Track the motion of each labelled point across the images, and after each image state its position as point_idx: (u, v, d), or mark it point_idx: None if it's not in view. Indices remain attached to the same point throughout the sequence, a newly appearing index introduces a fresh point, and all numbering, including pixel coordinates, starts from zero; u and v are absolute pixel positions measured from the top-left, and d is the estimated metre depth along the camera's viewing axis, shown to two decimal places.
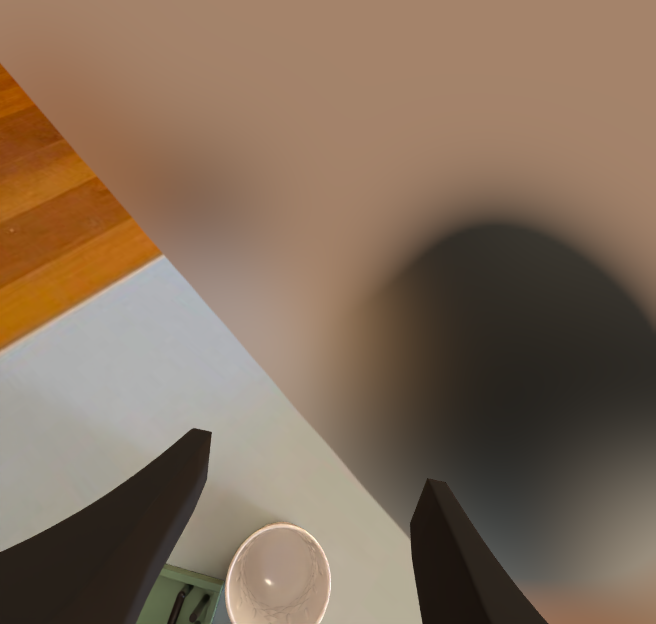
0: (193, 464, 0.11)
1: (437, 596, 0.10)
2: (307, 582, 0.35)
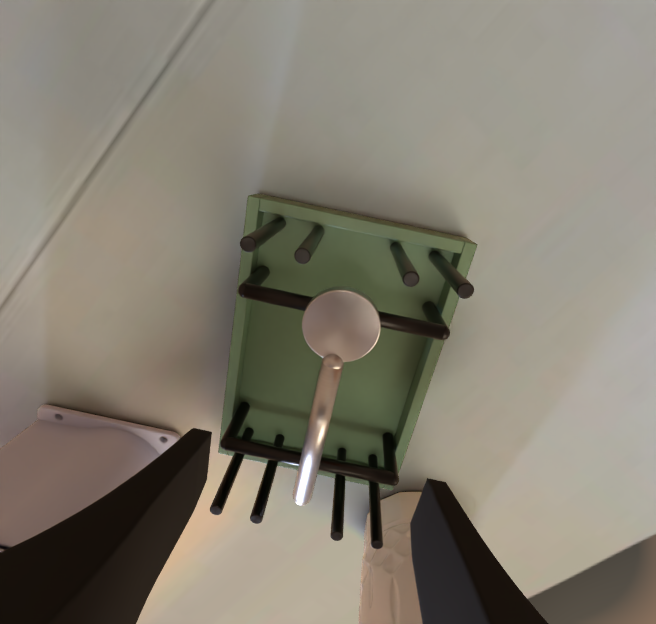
0: (193, 464, 0.11)
1: (437, 596, 0.10)
2: None
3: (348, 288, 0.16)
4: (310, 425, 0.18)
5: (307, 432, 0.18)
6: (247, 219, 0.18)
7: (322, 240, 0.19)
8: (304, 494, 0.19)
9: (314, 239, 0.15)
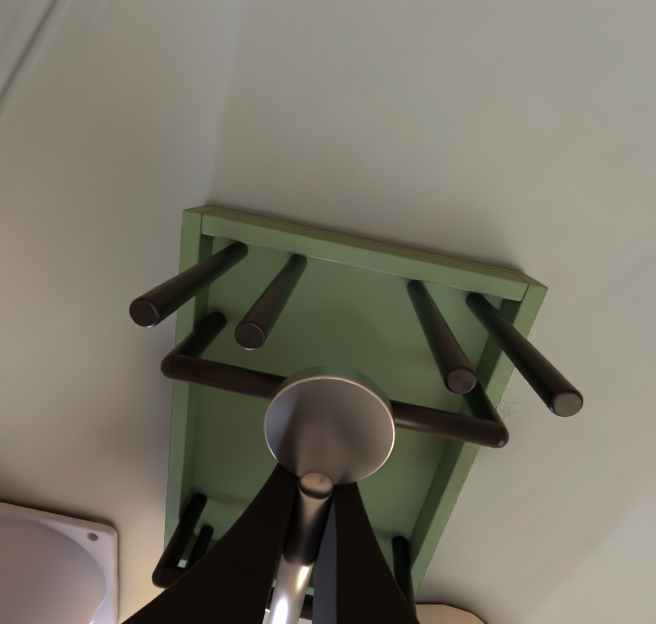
0: None
1: (322, 571, 0.10)
2: None
3: (341, 371, 0.09)
4: (282, 573, 0.11)
5: (278, 581, 0.11)
6: (183, 246, 0.11)
7: (304, 276, 0.13)
8: None
9: (282, 289, 0.09)
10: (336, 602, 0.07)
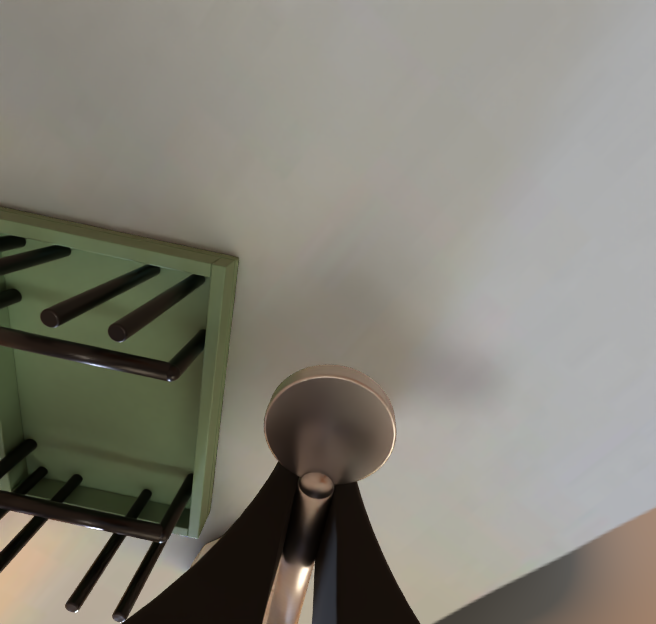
0: None
1: (322, 571, 0.10)
2: None
3: (341, 370, 0.09)
4: (281, 574, 0.11)
5: (278, 581, 0.11)
6: None
7: (71, 260, 0.17)
8: None
9: None
10: (336, 602, 0.07)
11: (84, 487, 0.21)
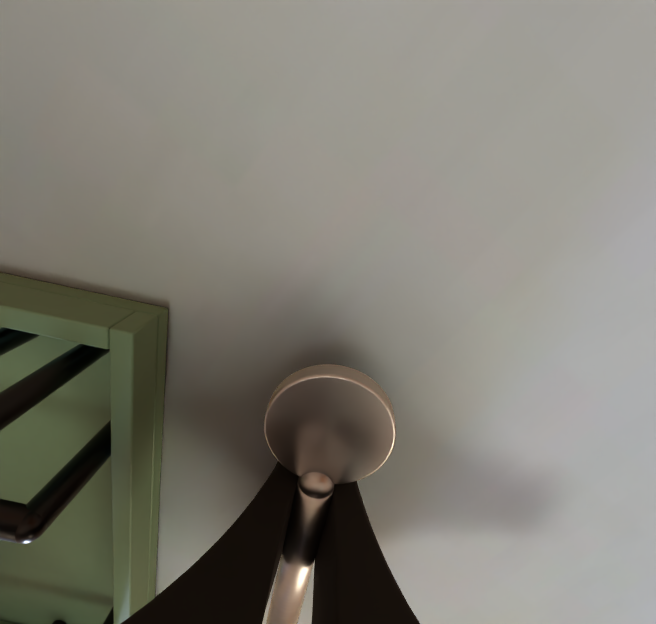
0: None
1: (321, 571, 0.10)
2: None
3: (341, 370, 0.09)
4: (281, 573, 0.11)
5: (277, 581, 0.11)
6: None
7: None
8: None
9: None
10: (336, 602, 0.07)
11: None
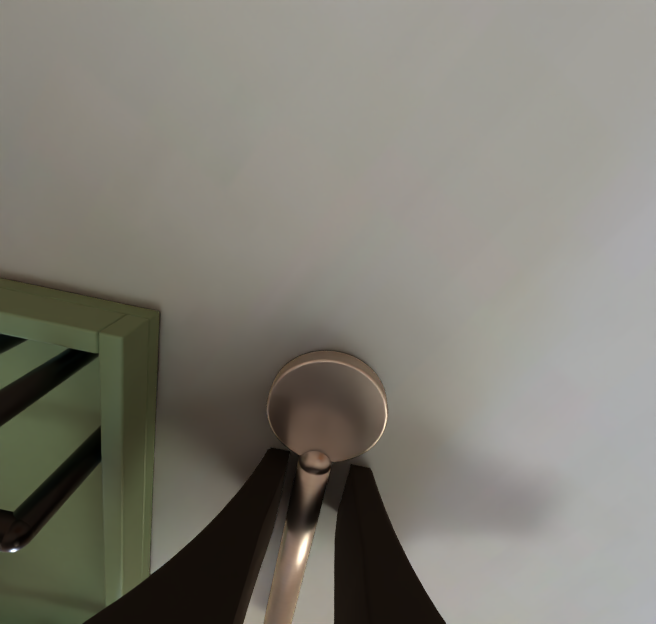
0: (281, 483, 0.11)
1: (344, 576, 0.10)
2: None
3: (337, 355, 0.10)
4: (283, 547, 0.12)
5: (279, 555, 0.12)
6: None
7: None
8: None
9: None
10: (367, 609, 0.07)
11: None
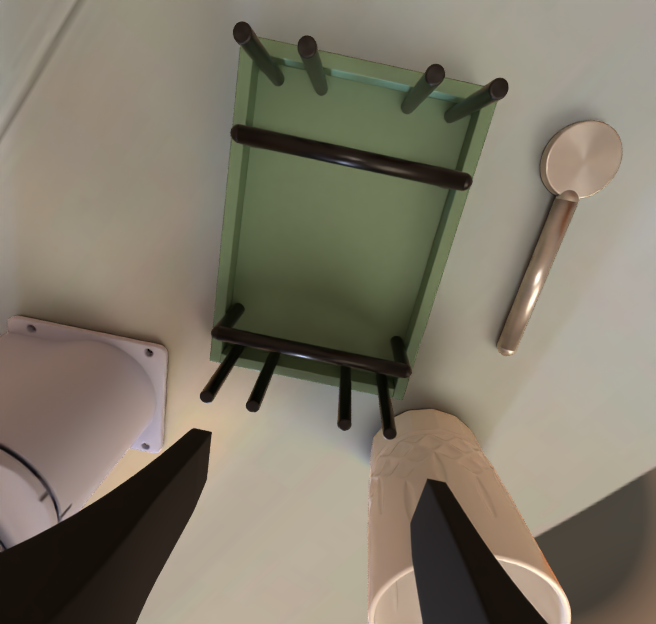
0: (193, 464, 0.11)
1: (437, 596, 0.10)
2: None
3: None
4: (535, 266, 0.19)
5: (529, 275, 0.19)
6: (241, 64, 0.16)
7: (325, 99, 0.17)
8: (515, 342, 0.20)
9: None
10: None
11: (283, 356, 0.22)
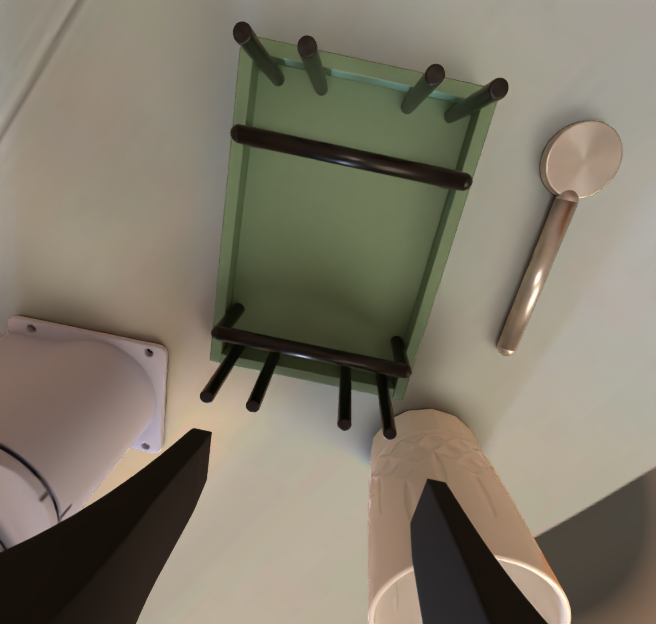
0: (193, 464, 0.11)
1: (437, 596, 0.10)
2: None
3: None
4: (535, 266, 0.19)
5: (529, 275, 0.19)
6: (241, 64, 0.16)
7: (325, 99, 0.17)
8: (515, 342, 0.20)
9: None
10: None
11: (283, 356, 0.22)
